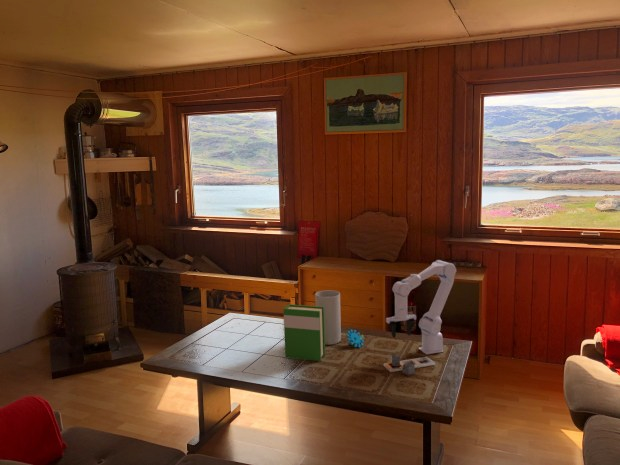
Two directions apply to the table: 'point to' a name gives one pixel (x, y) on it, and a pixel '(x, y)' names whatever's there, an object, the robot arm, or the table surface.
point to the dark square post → (395, 360)
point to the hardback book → (304, 332)
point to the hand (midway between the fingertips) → (401, 335)
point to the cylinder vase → (330, 315)
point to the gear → (355, 338)
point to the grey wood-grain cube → (408, 368)
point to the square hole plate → (414, 361)
